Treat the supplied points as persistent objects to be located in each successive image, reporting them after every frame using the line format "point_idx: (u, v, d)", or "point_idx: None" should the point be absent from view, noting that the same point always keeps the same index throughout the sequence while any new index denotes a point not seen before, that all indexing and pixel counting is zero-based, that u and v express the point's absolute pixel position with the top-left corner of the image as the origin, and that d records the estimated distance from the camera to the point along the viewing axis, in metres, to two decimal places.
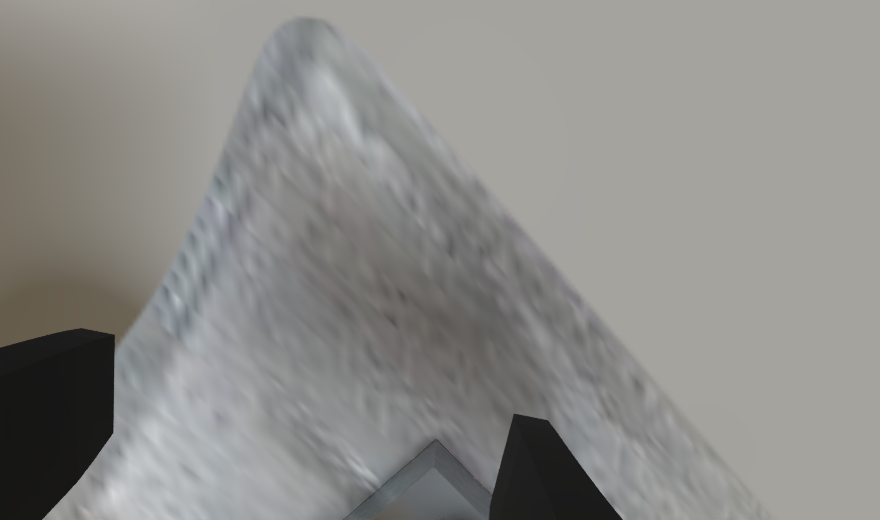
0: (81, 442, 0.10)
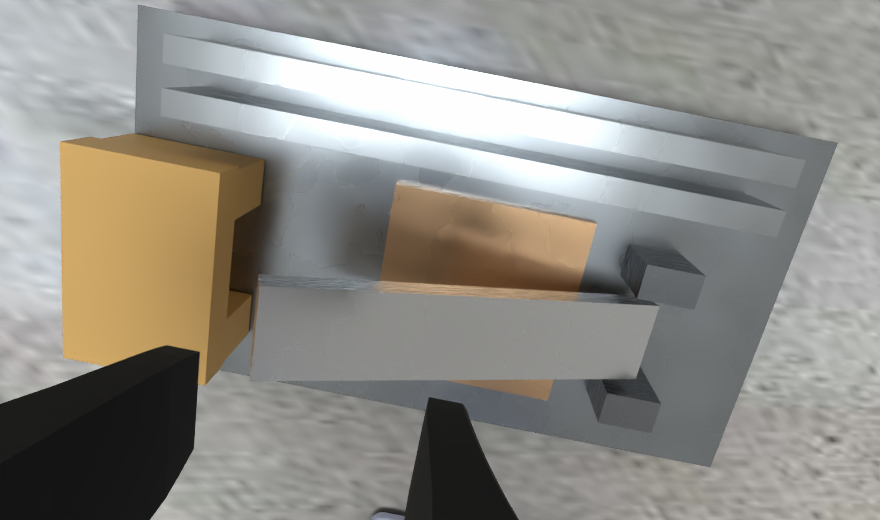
0: (169, 459, 0.10)
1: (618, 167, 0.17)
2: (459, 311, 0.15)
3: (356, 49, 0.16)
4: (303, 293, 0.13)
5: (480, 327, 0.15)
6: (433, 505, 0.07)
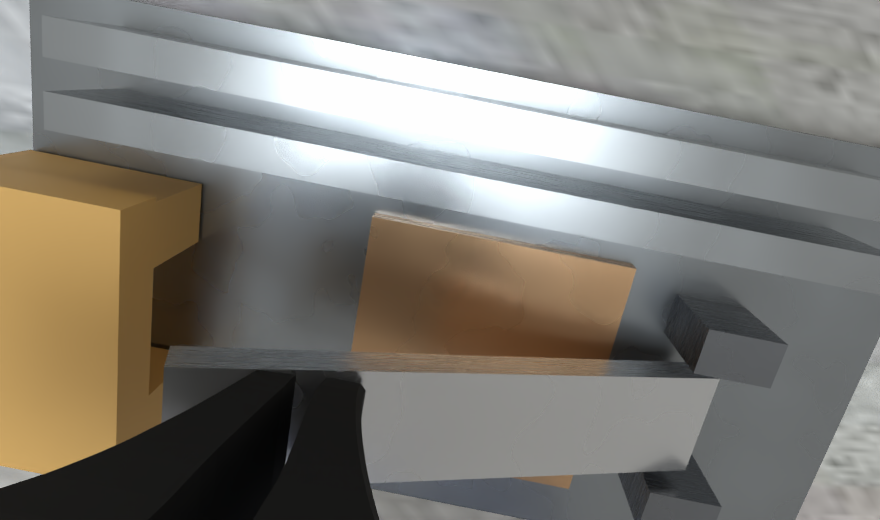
0: (273, 480, 0.10)
1: (665, 195, 0.13)
2: (450, 392, 0.11)
3: (318, 39, 0.12)
4: (228, 375, 0.10)
5: (479, 412, 0.11)
6: (280, 474, 0.07)
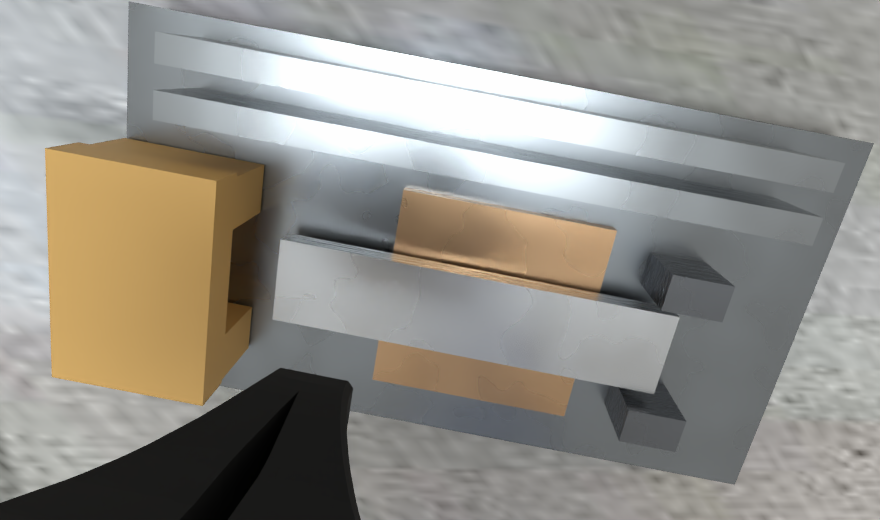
0: None
1: (639, 171, 0.16)
2: (453, 287, 0.16)
3: (361, 47, 0.15)
4: (315, 250, 0.16)
5: (474, 307, 0.16)
6: (261, 471, 0.07)
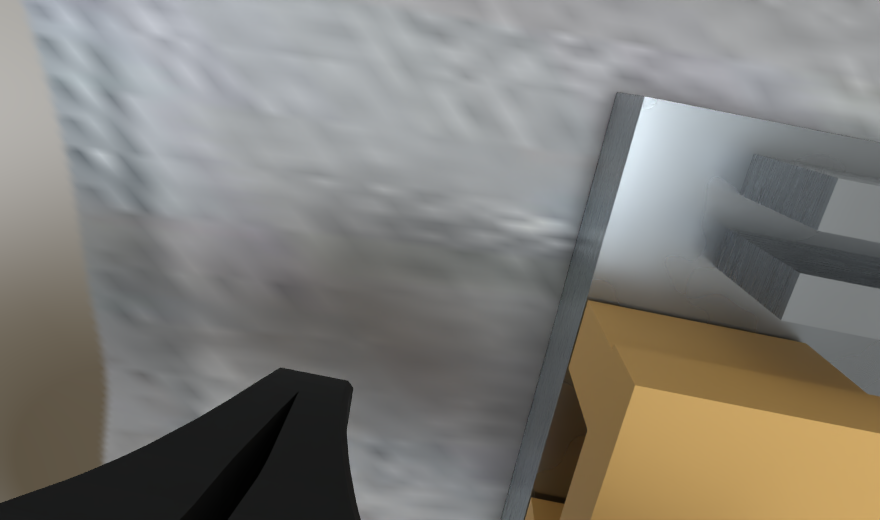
0: None
1: None
2: None
3: None
4: None
5: None
6: (261, 471, 0.07)
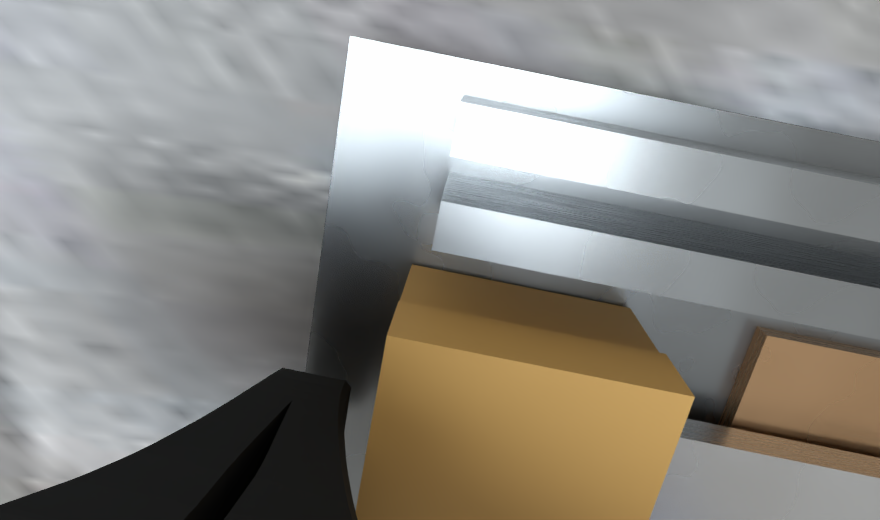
0: None
1: None
2: (851, 494, 0.10)
3: (726, 114, 0.10)
4: None
5: None
6: (258, 470, 0.07)
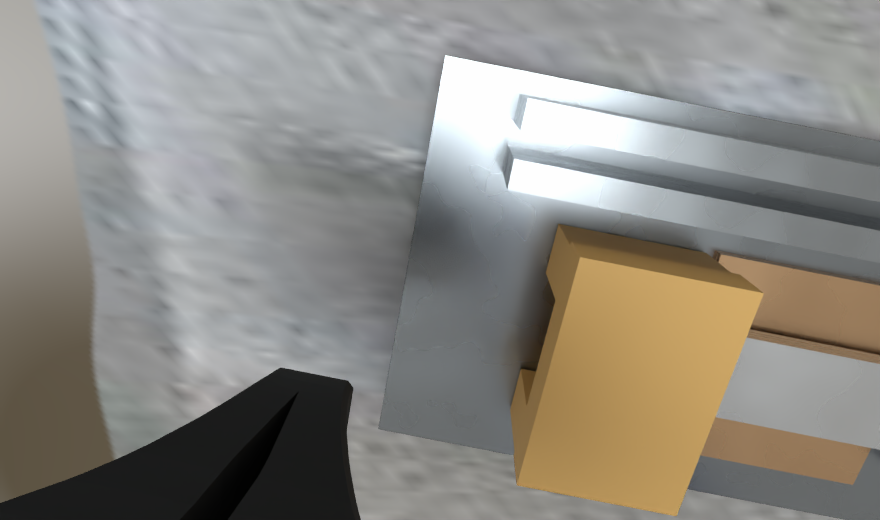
0: None
1: None
2: (776, 359, 0.15)
3: (692, 105, 0.15)
4: None
5: (796, 378, 0.15)
6: (261, 471, 0.07)
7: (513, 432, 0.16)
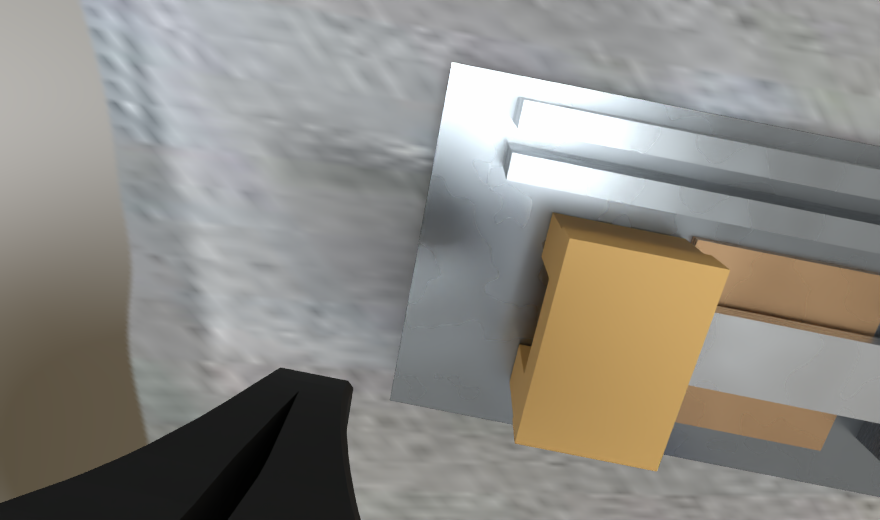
0: None
1: None
2: (747, 333, 0.17)
3: (670, 107, 0.16)
4: None
5: (765, 351, 0.17)
6: (261, 471, 0.07)
7: (512, 400, 0.18)
